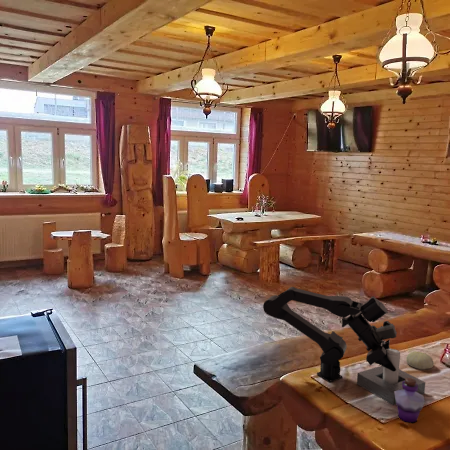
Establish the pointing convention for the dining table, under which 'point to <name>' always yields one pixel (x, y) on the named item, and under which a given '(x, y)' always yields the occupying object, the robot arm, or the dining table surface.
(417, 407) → the potion bottle
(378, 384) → the block
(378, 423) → the dining table surface
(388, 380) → the beverage can
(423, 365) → the sea urchin shell
